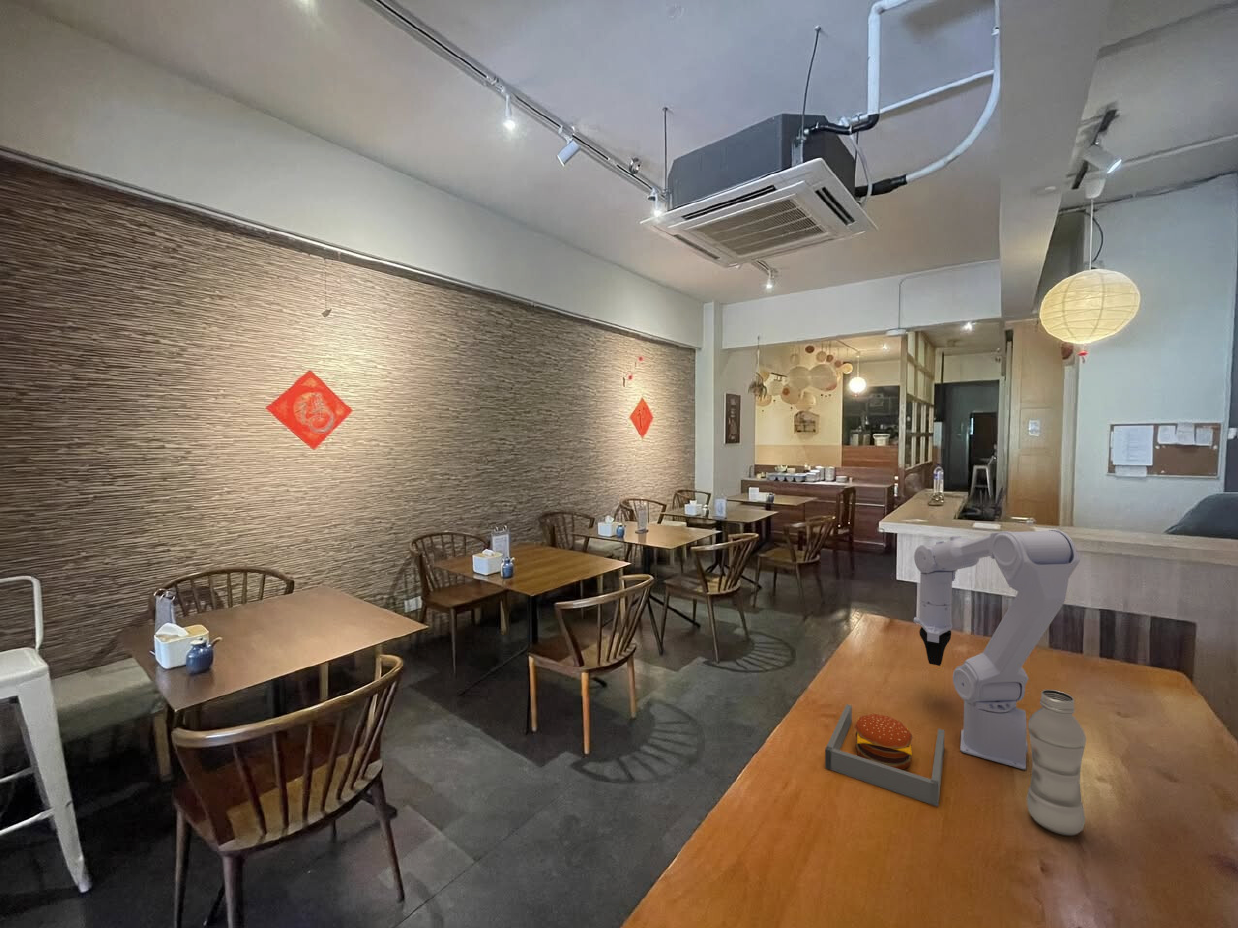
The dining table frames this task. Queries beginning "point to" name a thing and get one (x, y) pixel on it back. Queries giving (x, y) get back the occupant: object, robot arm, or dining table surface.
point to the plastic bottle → (1056, 765)
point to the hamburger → (883, 740)
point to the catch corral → (883, 766)
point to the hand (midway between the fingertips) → (934, 663)
